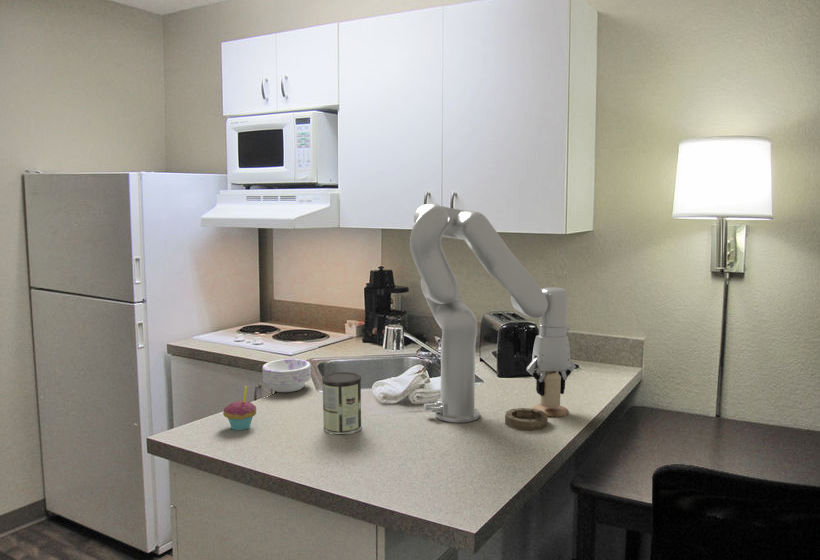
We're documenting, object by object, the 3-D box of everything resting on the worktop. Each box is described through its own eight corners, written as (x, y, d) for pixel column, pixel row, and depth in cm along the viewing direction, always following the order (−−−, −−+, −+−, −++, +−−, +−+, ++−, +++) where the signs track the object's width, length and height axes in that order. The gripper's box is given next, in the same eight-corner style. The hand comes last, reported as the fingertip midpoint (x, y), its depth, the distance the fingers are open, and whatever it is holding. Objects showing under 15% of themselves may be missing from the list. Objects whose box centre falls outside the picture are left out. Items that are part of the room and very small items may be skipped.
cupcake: (254, 420, 186) (253, 378, 184) (259, 430, 178) (258, 386, 177) (222, 424, 183) (220, 381, 181) (225, 434, 175) (224, 390, 173)
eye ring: (516, 432, 177) (516, 423, 177) (498, 418, 188) (499, 410, 188) (554, 428, 181) (555, 419, 180) (535, 414, 191) (535, 406, 191)
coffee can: (338, 419, 187) (337, 369, 185) (369, 426, 182) (368, 375, 180) (314, 430, 178) (313, 378, 176) (346, 438, 173) (345, 384, 171)
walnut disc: (542, 418, 188) (542, 416, 188) (526, 407, 197) (526, 405, 197) (574, 415, 191) (574, 413, 191) (557, 404, 200) (557, 402, 200)
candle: (540, 407, 192) (541, 372, 190) (540, 401, 197) (541, 367, 196) (560, 408, 190) (561, 374, 189) (559, 402, 196) (560, 368, 194)
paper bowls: (253, 392, 211) (252, 368, 210) (278, 380, 226) (277, 356, 224) (297, 397, 206) (296, 372, 205) (319, 384, 221) (319, 360, 220)
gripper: (572, 327, 197) (570, 387, 199) (519, 330, 192) (517, 392, 194) (586, 332, 190) (583, 395, 192) (531, 335, 185) (528, 399, 187)
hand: (550, 392), depth 193 cm, fingers closed on candle, 5 cm apart
